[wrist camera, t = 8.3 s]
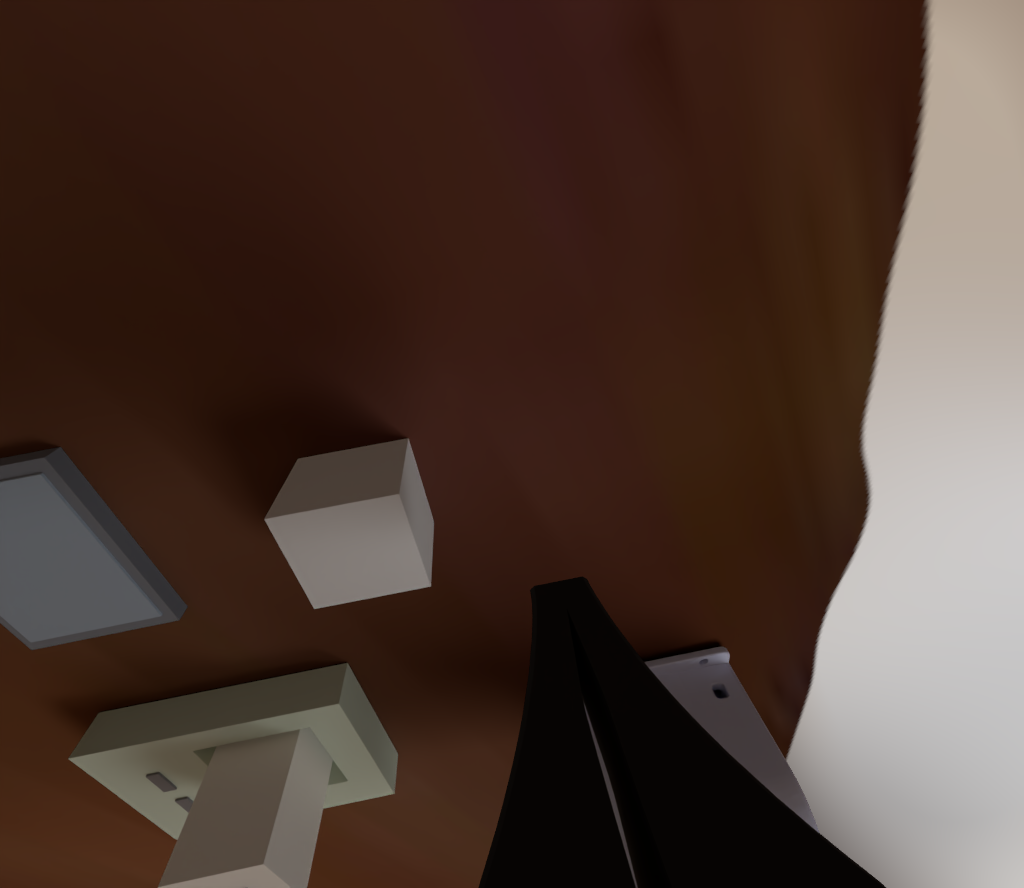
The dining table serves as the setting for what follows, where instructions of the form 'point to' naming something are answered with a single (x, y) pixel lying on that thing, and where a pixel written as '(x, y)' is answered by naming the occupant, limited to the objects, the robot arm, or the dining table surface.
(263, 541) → the dining table surface
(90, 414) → the dining table surface
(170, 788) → the outlet plate
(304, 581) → the cable plug
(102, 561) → the phone
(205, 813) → the charger
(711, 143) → the dining table surface
